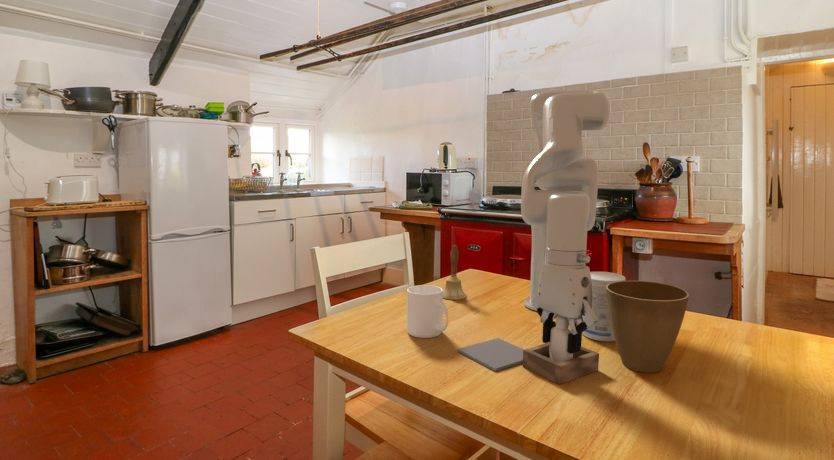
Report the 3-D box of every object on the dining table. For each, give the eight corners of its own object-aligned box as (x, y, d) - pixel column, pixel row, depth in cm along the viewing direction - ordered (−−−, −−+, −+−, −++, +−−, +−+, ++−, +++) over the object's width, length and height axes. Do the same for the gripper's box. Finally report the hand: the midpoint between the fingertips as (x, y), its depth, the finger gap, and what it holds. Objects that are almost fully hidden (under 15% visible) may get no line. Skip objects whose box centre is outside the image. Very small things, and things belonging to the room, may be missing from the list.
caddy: (560, 354, 102) (561, 338, 102) (598, 370, 94) (599, 353, 94) (522, 366, 96) (523, 350, 96) (559, 384, 88) (560, 366, 88)
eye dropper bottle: (570, 364, 97) (573, 307, 96) (572, 375, 92) (575, 315, 90) (548, 361, 98) (551, 305, 97) (548, 373, 93) (551, 313, 91)
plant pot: (614, 345, 107) (618, 276, 105) (689, 363, 98) (695, 287, 96) (591, 367, 96) (595, 290, 94) (673, 389, 86) (680, 304, 84)
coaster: (498, 340, 110) (498, 337, 110) (537, 358, 100) (537, 355, 100) (457, 351, 104) (457, 348, 103) (495, 371, 94) (495, 368, 94)
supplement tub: (603, 326, 120) (606, 269, 118) (632, 340, 111) (636, 278, 109) (571, 331, 116) (574, 272, 114) (598, 345, 108) (602, 281, 105)
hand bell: (464, 292, 151) (465, 243, 149) (468, 300, 143) (469, 247, 141) (438, 292, 151) (439, 243, 148) (441, 300, 142) (441, 247, 140)
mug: (434, 345, 107) (434, 299, 105) (399, 331, 116) (399, 289, 114) (460, 336, 113) (460, 292, 111) (425, 324, 121) (425, 283, 120)
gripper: (616, 263, 87) (610, 357, 90) (544, 248, 101) (541, 330, 104) (590, 267, 83) (585, 366, 85) (519, 252, 97) (516, 337, 100)
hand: (561, 345), depth 95 cm, fingers closed on eye dropper bottle, 5 cm apart
